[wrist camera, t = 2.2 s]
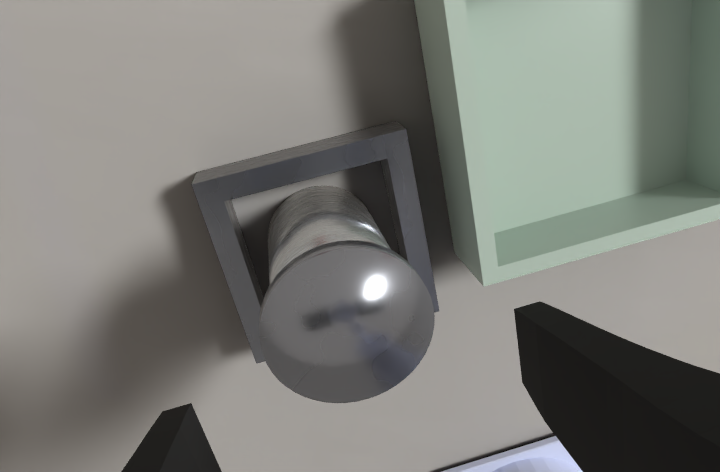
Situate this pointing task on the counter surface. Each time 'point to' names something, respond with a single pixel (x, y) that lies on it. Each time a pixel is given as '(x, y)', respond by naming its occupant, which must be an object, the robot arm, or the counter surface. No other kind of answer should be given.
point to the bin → (571, 125)
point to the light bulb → (339, 301)
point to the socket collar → (297, 166)
